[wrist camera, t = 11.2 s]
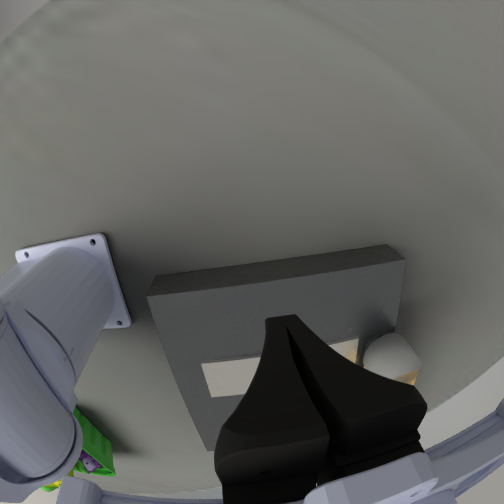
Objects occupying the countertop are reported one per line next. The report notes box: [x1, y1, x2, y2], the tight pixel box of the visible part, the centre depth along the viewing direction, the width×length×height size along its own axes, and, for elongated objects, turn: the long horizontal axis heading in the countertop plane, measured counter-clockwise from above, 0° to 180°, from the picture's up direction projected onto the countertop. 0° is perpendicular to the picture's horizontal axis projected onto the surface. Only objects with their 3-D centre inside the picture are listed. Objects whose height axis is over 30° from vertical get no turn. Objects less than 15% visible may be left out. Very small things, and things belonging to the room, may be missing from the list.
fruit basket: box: [40, 407, 116, 491], centre depth 23 cm, size 11×9×11 cm
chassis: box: [146, 245, 406, 451], centre depth 24 cm, size 18×20×4 cm
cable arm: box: [363, 333, 422, 385], centre depth 23 cm, size 18×4×3 cm, turn 8°
